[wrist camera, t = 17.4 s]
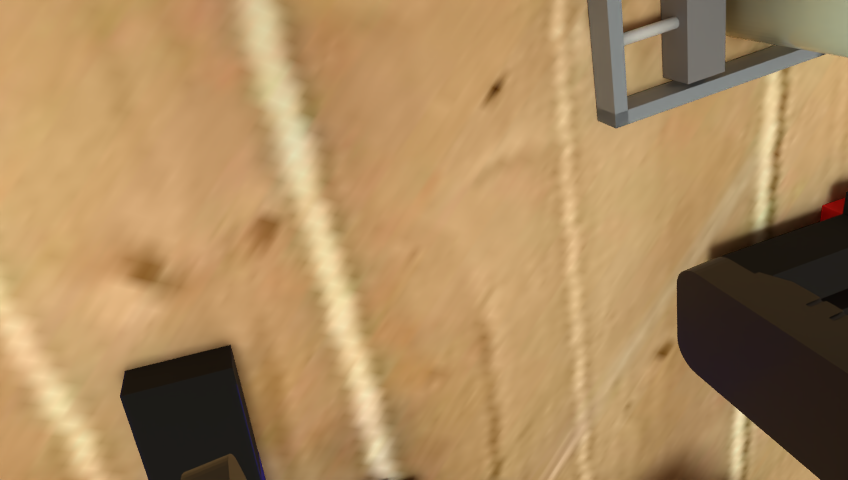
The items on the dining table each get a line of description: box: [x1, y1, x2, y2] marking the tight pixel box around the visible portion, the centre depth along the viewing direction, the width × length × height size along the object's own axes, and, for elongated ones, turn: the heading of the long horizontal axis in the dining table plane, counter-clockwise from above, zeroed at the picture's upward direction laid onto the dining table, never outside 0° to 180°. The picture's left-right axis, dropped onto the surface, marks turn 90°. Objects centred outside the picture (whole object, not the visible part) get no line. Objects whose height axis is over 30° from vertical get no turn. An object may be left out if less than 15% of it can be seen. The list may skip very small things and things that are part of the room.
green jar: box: [725, 0, 848, 58], centre depth 38 cm, size 6×6×15 cm
